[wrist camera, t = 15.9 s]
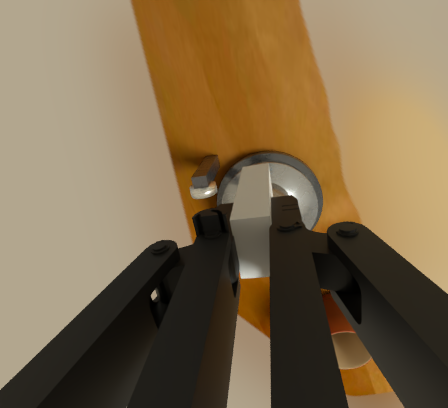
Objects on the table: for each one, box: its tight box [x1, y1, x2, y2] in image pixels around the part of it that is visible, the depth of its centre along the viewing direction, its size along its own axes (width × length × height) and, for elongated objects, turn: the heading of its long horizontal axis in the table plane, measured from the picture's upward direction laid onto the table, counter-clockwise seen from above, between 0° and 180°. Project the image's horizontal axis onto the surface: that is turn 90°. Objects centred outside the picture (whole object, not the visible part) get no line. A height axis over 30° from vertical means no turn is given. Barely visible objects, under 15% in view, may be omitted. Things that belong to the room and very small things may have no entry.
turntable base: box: [217, 151, 323, 230], centre depth 49 cm, size 17×17×2 cm
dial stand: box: [190, 155, 220, 199], centre depth 43 cm, size 3×4×11 cm
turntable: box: [222, 160, 318, 230], centre depth 46 cm, size 20×15×4 cm
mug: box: [322, 293, 372, 369], centre depth 53 cm, size 12×9×10 cm
